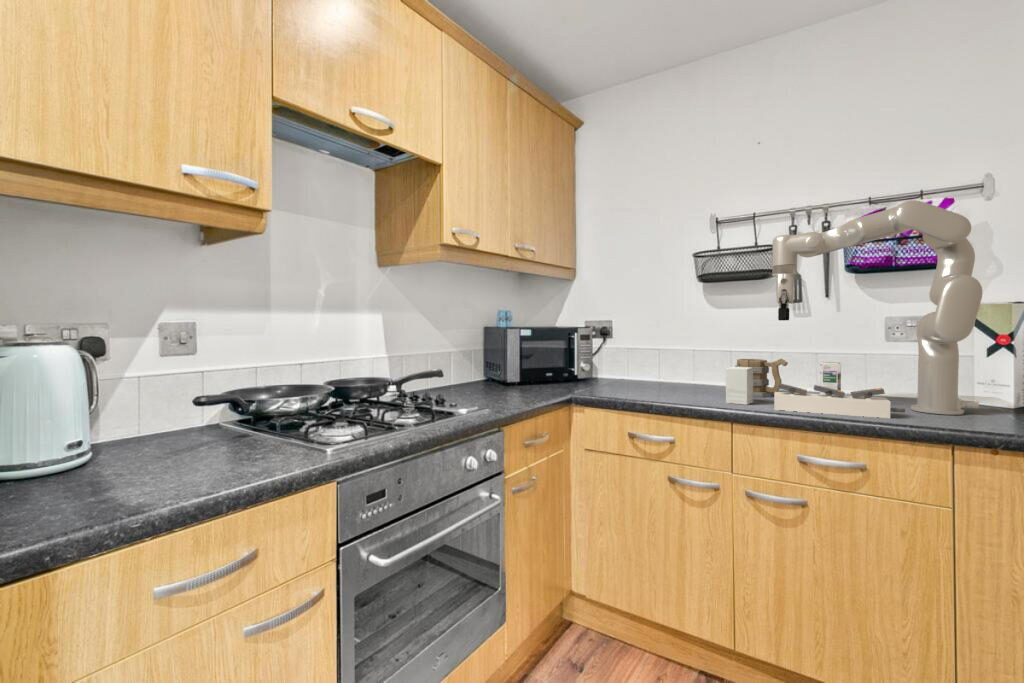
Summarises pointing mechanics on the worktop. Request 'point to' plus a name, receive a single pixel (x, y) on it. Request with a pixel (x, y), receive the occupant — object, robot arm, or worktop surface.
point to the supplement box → (739, 385)
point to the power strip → (834, 404)
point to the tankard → (763, 375)
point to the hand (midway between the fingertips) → (783, 320)
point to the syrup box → (830, 375)
